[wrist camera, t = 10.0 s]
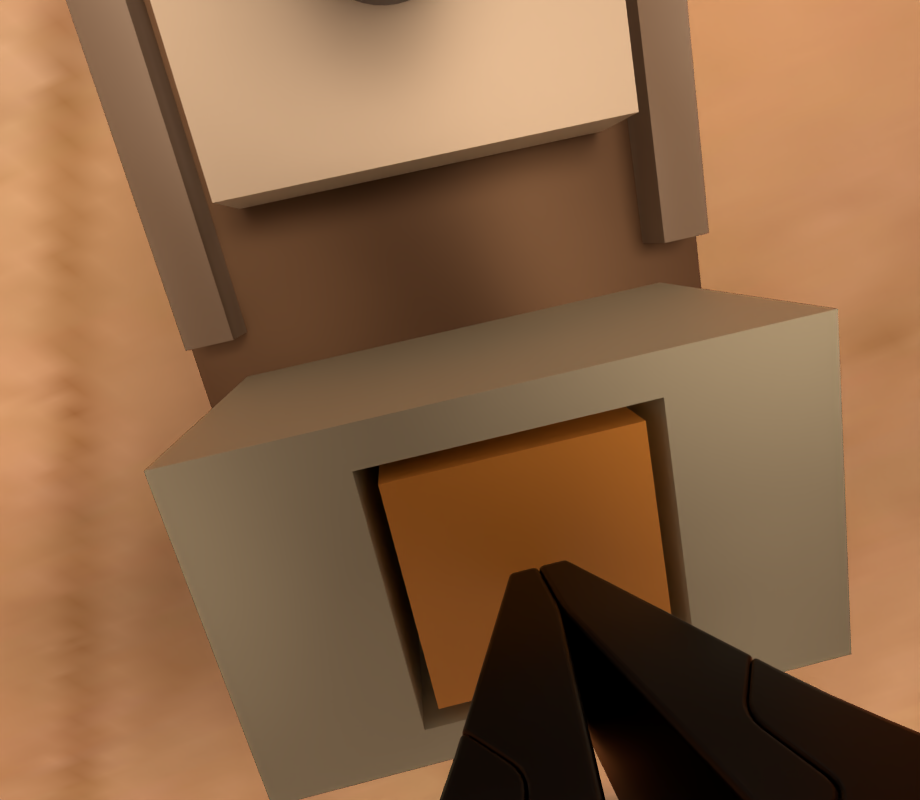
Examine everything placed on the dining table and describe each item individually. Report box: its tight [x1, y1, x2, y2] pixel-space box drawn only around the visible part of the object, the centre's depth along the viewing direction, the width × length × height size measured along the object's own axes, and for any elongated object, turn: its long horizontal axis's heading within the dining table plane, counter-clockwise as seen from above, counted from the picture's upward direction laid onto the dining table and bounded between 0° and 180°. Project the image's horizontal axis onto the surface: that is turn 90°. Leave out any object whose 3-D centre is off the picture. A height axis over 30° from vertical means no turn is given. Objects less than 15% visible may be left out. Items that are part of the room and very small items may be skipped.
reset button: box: [378, 407, 671, 709], centre depth 12 cm, size 4×4×5 cm
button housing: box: [144, 283, 851, 800], centre depth 12 cm, size 10×6×6 cm, turn 103°
